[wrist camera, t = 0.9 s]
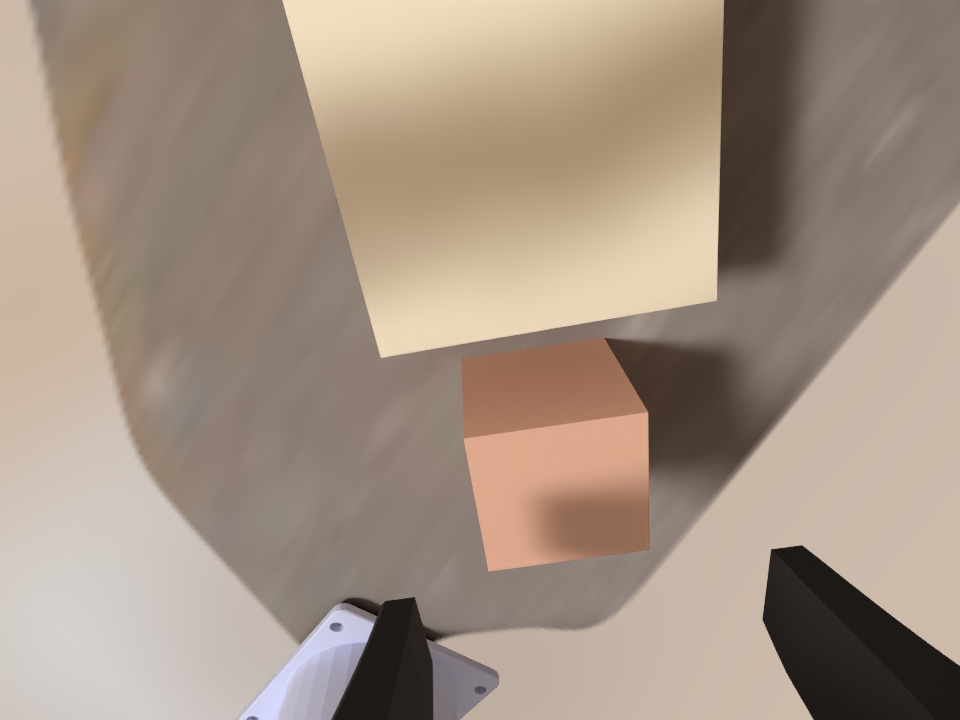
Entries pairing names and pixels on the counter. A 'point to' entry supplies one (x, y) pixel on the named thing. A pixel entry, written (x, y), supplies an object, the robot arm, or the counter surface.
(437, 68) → the birch block
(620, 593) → the counter surface
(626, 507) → the terracotta cube
